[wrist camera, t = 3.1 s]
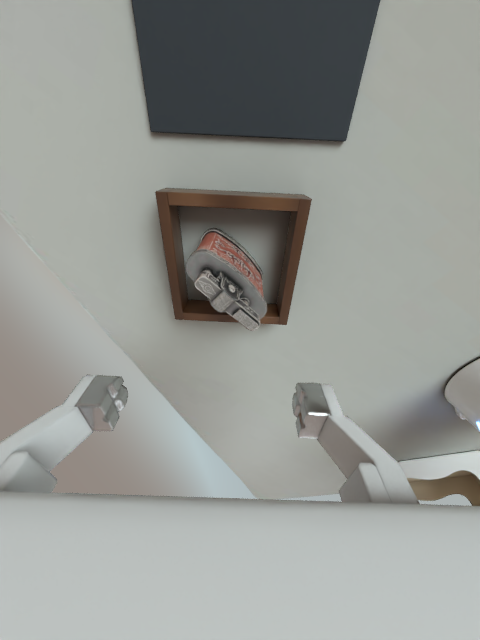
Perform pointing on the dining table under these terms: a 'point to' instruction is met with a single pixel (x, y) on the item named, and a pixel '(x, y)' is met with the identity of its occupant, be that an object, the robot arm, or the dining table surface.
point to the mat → (253, 65)
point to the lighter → (228, 278)
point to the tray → (239, 200)
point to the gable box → (445, 476)
